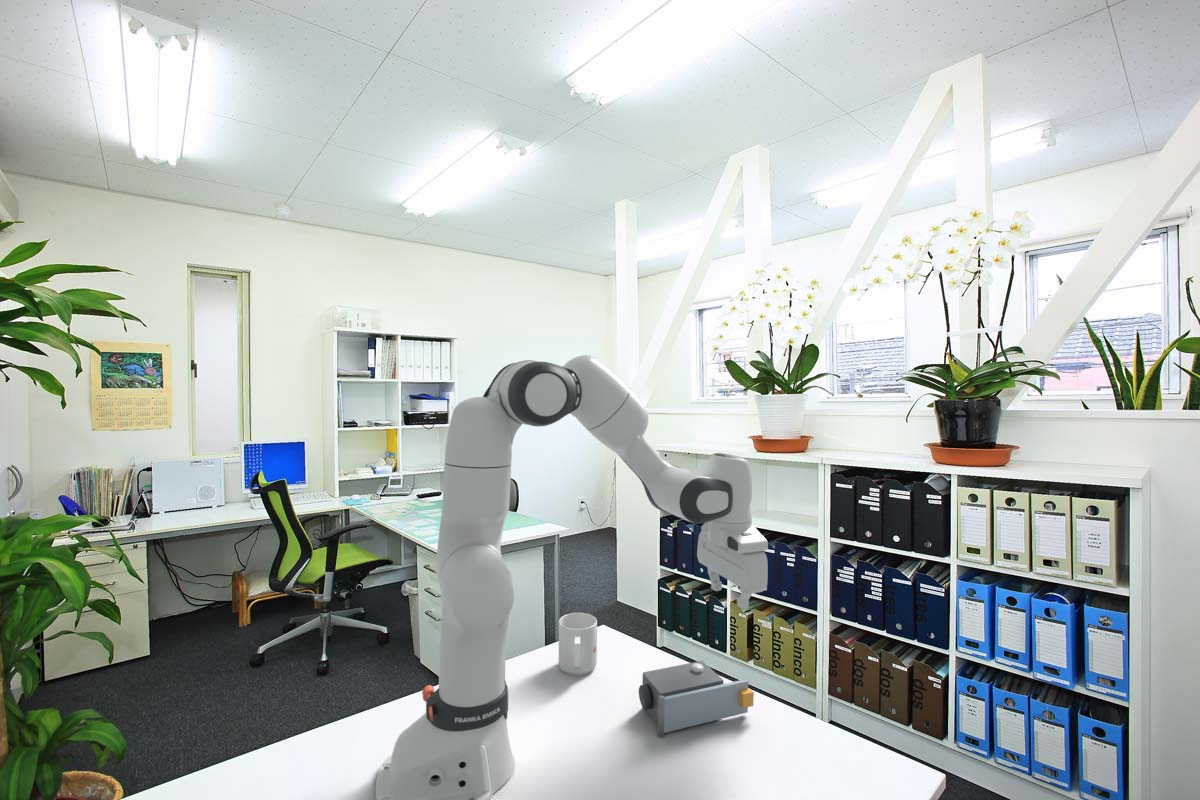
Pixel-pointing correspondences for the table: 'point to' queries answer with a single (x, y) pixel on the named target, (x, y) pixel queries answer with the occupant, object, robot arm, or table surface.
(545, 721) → the table surface
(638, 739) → the table surface
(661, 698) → the side door
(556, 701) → the table surface
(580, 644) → the mug
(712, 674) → the camera case
